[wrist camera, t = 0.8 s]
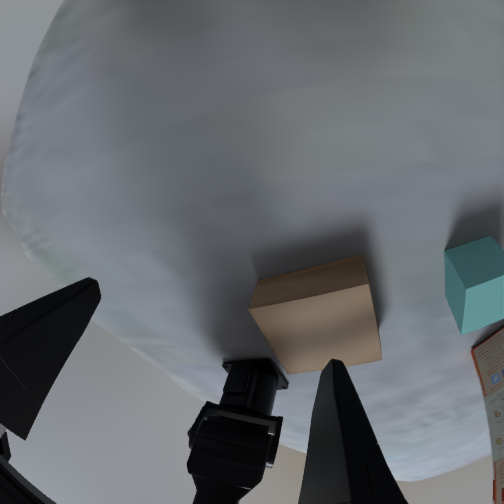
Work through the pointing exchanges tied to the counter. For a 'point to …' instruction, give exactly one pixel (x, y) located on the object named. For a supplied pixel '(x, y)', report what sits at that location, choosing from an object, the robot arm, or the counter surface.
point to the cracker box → (493, 402)
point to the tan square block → (319, 316)
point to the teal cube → (475, 283)
